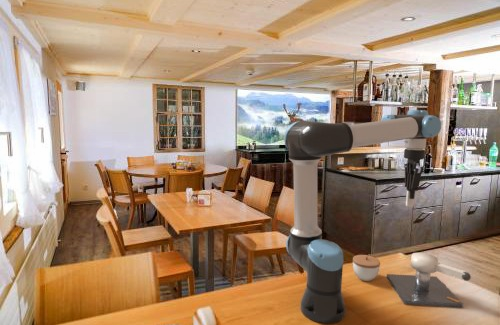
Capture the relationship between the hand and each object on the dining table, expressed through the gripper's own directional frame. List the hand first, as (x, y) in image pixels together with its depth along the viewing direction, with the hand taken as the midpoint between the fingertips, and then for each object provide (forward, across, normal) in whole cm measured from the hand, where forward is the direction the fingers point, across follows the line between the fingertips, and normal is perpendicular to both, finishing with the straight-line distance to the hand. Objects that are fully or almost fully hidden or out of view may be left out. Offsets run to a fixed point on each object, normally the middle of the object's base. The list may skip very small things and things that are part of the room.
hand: (409, 205), depth 139 cm
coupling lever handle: (+21, +17, +6) cm, 27 cm away
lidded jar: (+31, +4, -17) cm, 35 cm away
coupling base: (+30, +13, +2) cm, 33 cm away
